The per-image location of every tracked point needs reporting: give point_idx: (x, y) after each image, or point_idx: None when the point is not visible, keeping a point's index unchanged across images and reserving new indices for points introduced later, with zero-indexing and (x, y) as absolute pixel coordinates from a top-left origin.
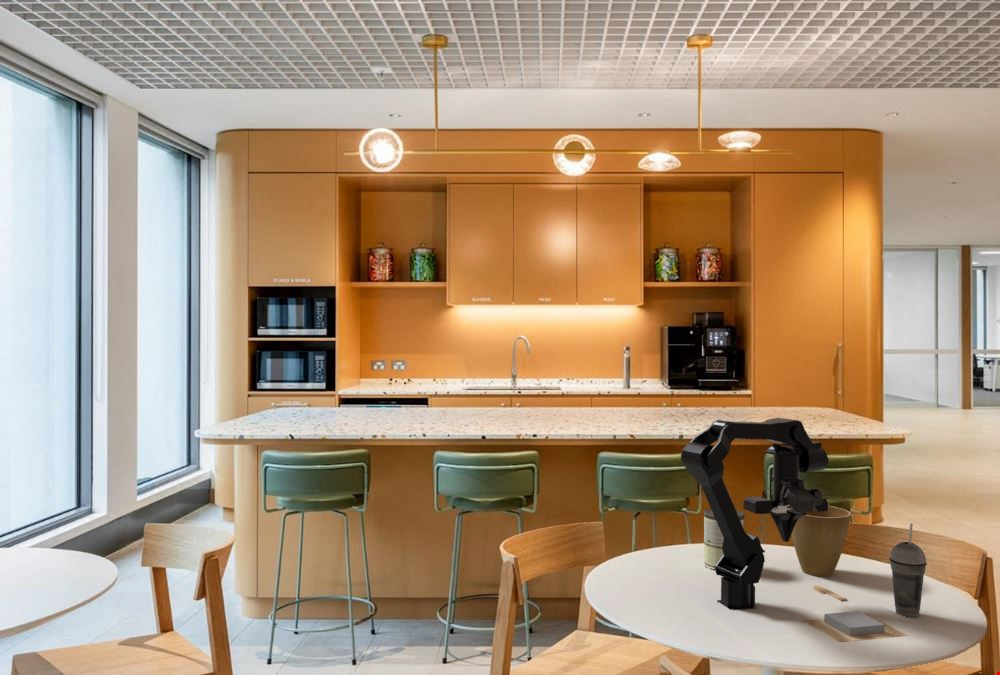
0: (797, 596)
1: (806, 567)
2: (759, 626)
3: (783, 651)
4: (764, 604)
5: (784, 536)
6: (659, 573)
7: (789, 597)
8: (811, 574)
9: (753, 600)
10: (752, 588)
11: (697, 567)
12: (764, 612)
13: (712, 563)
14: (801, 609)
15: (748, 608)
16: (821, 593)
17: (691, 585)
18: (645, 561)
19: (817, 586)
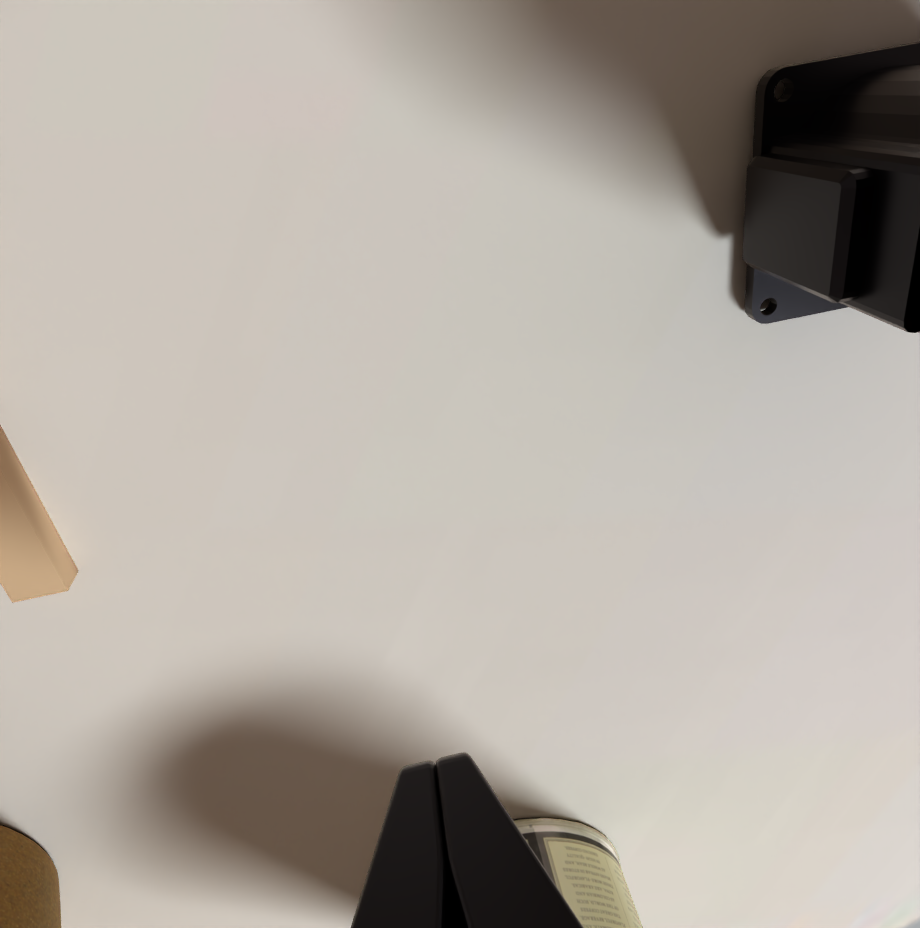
0: (262, 426)
1: (29, 878)
2: None
3: None
4: (614, 239)
5: (519, 836)
6: (907, 759)
7: (337, 403)
8: (11, 831)
9: (784, 157)
10: (881, 150)
11: (663, 854)
12: (722, 22)
13: (616, 870)
14: (350, 87)
15: (853, 62)
16: (32, 488)
17: (870, 604)
18: (858, 890)
19: (36, 578)
